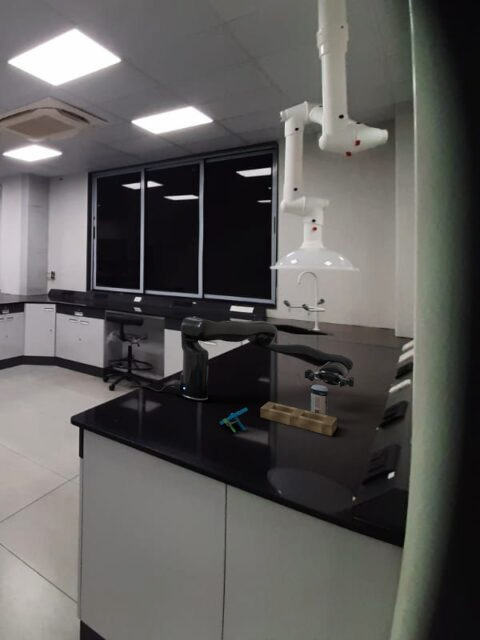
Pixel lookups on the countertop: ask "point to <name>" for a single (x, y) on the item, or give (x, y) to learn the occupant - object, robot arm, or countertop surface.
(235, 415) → the blue-green rod frame
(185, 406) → the countertop surface
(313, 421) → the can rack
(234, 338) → the robot arm
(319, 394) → the beer can
